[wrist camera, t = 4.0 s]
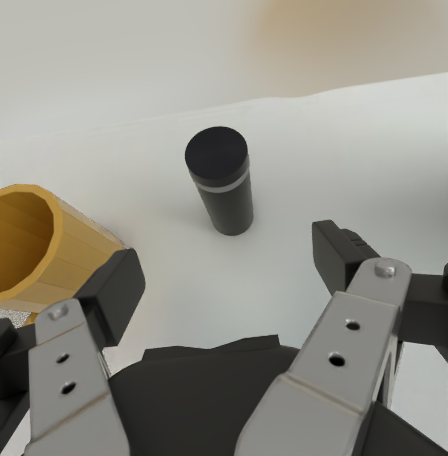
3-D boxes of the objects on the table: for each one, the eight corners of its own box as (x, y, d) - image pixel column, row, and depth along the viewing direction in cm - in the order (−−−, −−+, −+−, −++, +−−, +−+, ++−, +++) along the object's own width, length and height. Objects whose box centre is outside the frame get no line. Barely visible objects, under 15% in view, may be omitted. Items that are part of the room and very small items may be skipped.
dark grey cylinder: (246, 192, 26) (237, 117, 17) (259, 228, 24) (257, 167, 15) (207, 204, 26) (177, 136, 17) (217, 241, 24) (191, 187, 16)
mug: (84, 219, 27) (5, 167, 19) (146, 254, 25) (87, 212, 17) (8, 321, 24) (-125, 313, 16) (70, 371, 22) (-47, 391, 14)
